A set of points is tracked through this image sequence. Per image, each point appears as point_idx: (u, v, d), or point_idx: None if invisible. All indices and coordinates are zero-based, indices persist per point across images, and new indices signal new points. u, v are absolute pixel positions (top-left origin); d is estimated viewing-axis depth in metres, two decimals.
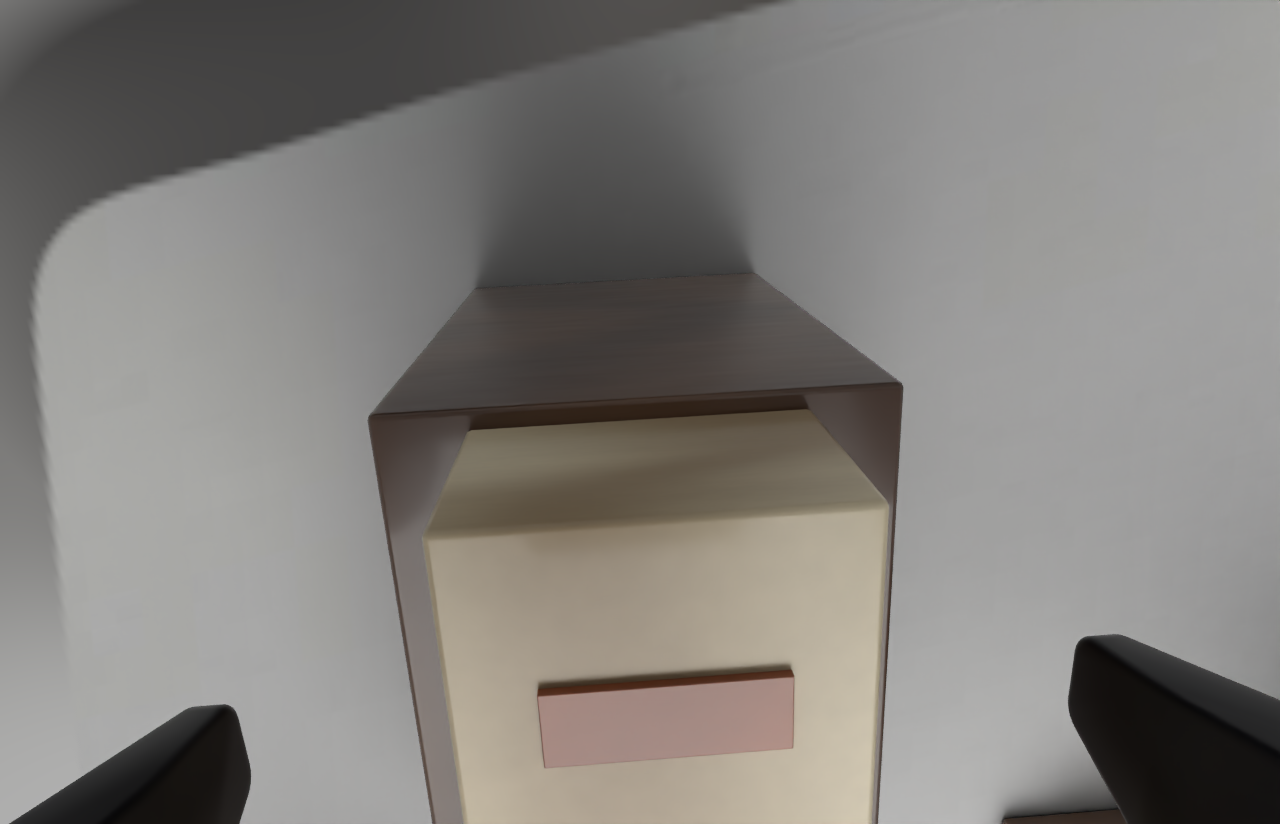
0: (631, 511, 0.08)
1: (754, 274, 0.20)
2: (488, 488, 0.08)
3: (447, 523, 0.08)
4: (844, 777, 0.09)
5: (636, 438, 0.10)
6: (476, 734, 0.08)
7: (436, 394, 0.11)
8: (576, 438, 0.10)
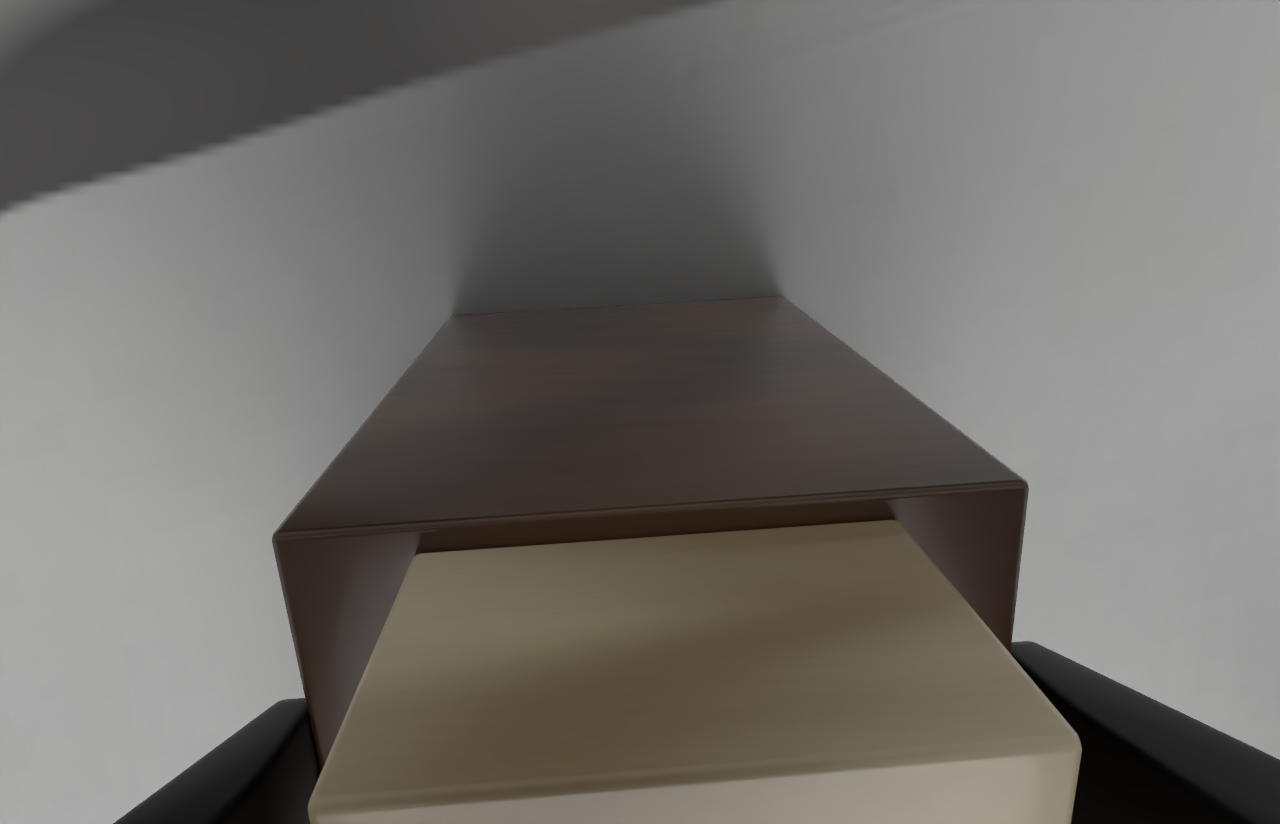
0: (657, 752, 0.05)
1: (782, 298, 0.17)
2: (428, 687, 0.05)
3: (353, 777, 0.05)
4: None
5: (656, 577, 0.07)
6: None
7: (374, 492, 0.08)
8: (568, 574, 0.07)
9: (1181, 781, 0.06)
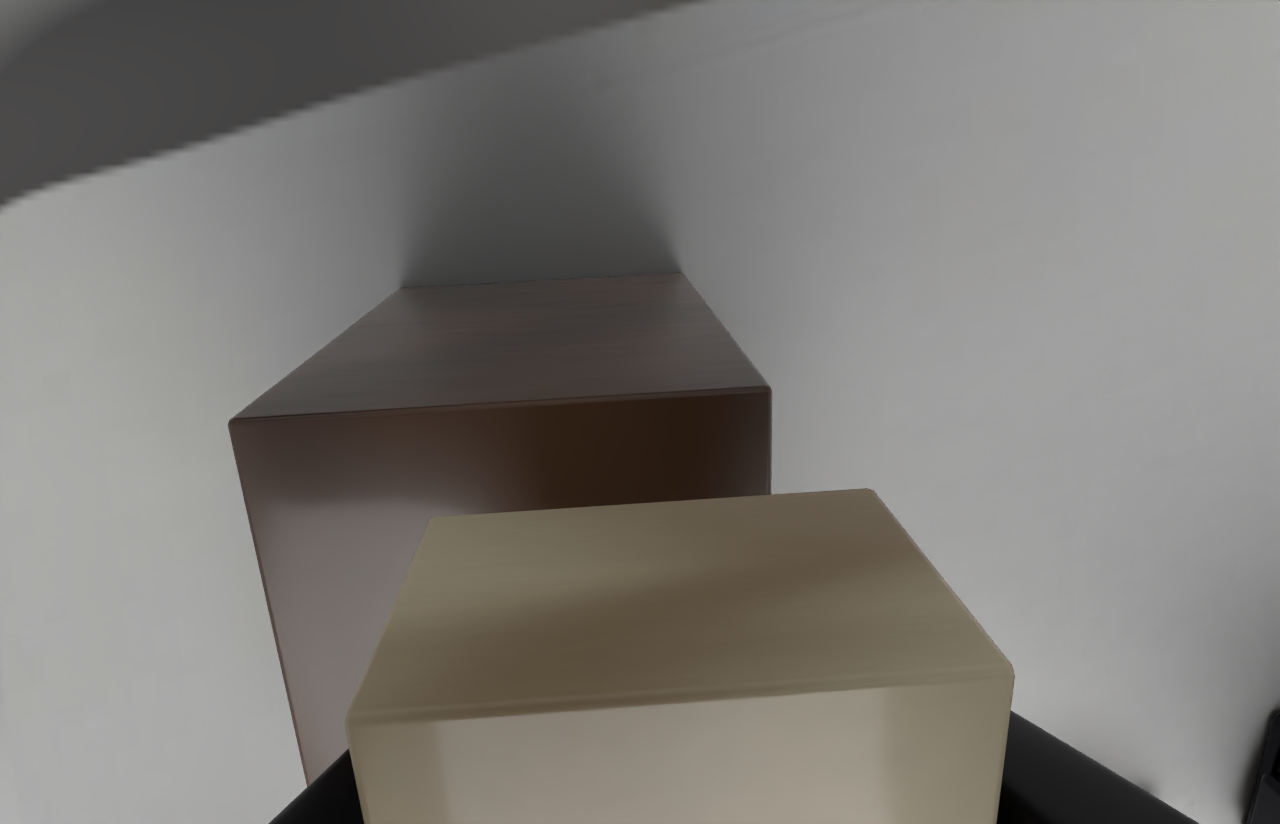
0: (645, 678, 0.05)
1: (680, 274, 0.20)
2: (445, 627, 0.06)
3: (382, 697, 0.05)
4: None
5: (649, 537, 0.07)
6: None
7: (305, 398, 0.11)
8: (570, 533, 0.07)
9: (1013, 796, 0.06)
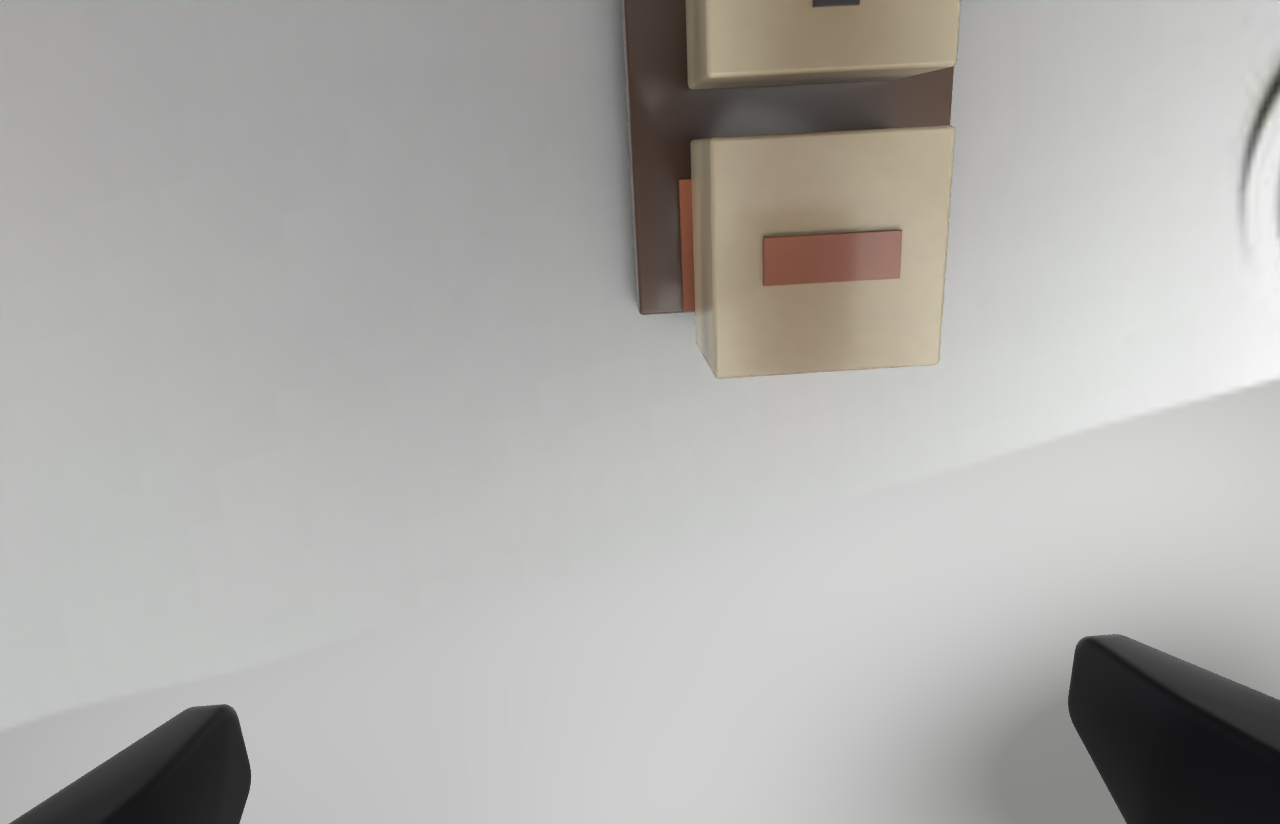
0: (818, 132, 0.15)
1: None
2: None
3: (721, 137, 0.15)
4: (926, 303, 0.16)
5: None
6: (727, 266, 0.15)
7: None
8: None
9: None
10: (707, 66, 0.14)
